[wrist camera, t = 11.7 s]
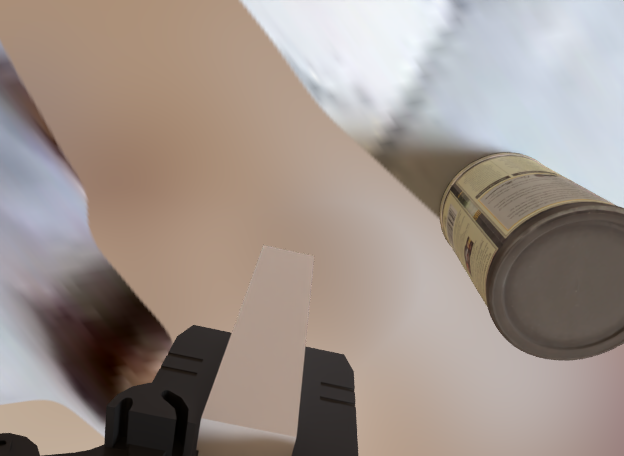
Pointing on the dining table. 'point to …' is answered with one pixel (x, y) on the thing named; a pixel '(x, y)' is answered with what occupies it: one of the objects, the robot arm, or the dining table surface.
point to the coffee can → (539, 255)
